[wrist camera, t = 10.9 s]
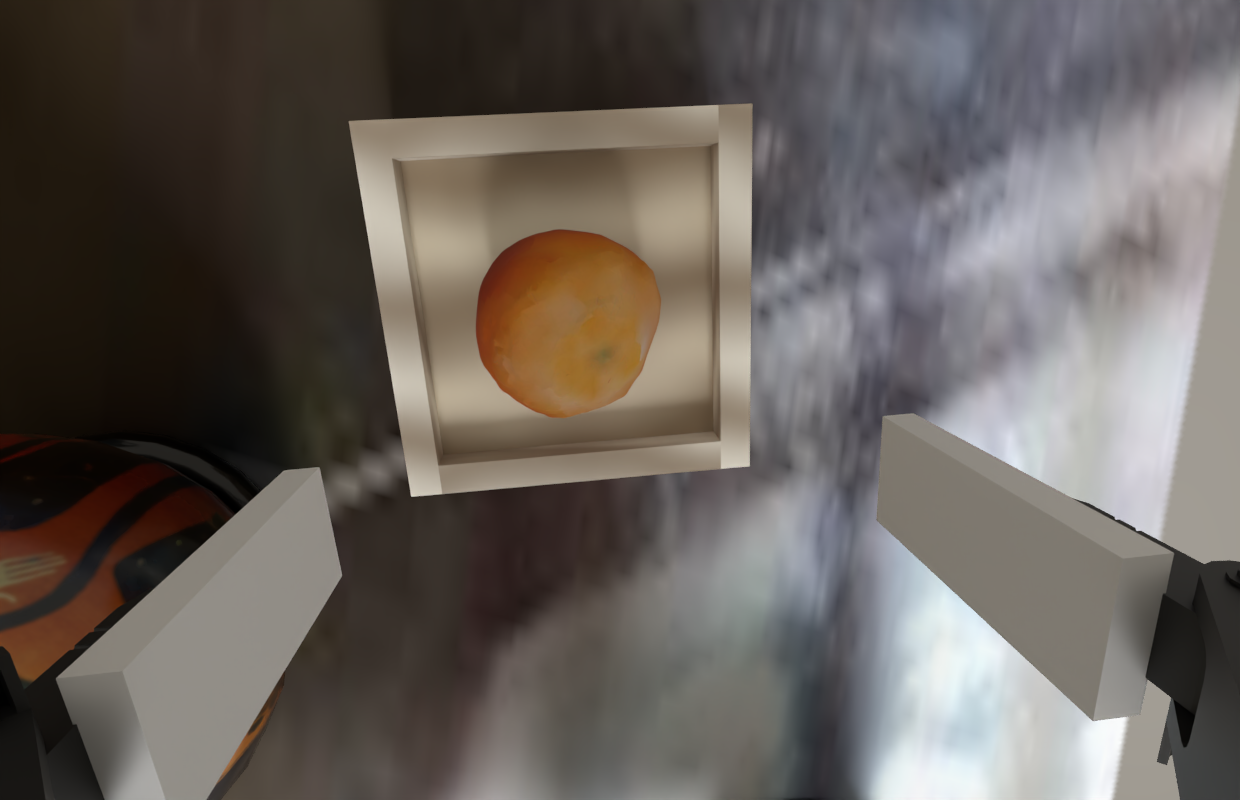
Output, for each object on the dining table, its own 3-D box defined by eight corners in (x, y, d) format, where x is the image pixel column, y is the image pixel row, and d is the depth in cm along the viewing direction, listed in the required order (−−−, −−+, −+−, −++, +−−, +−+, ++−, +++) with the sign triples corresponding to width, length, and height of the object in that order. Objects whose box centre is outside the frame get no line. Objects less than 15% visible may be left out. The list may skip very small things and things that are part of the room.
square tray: (714, 419, 39) (749, 466, 32) (438, 442, 38) (411, 496, 31) (711, 126, 34) (752, 103, 27) (393, 140, 33) (348, 121, 26)
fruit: (511, 158, 27) (599, 221, 21) (626, 250, 32) (719, 318, 27) (408, 310, 28) (466, 406, 23) (535, 373, 34) (606, 462, 28)
